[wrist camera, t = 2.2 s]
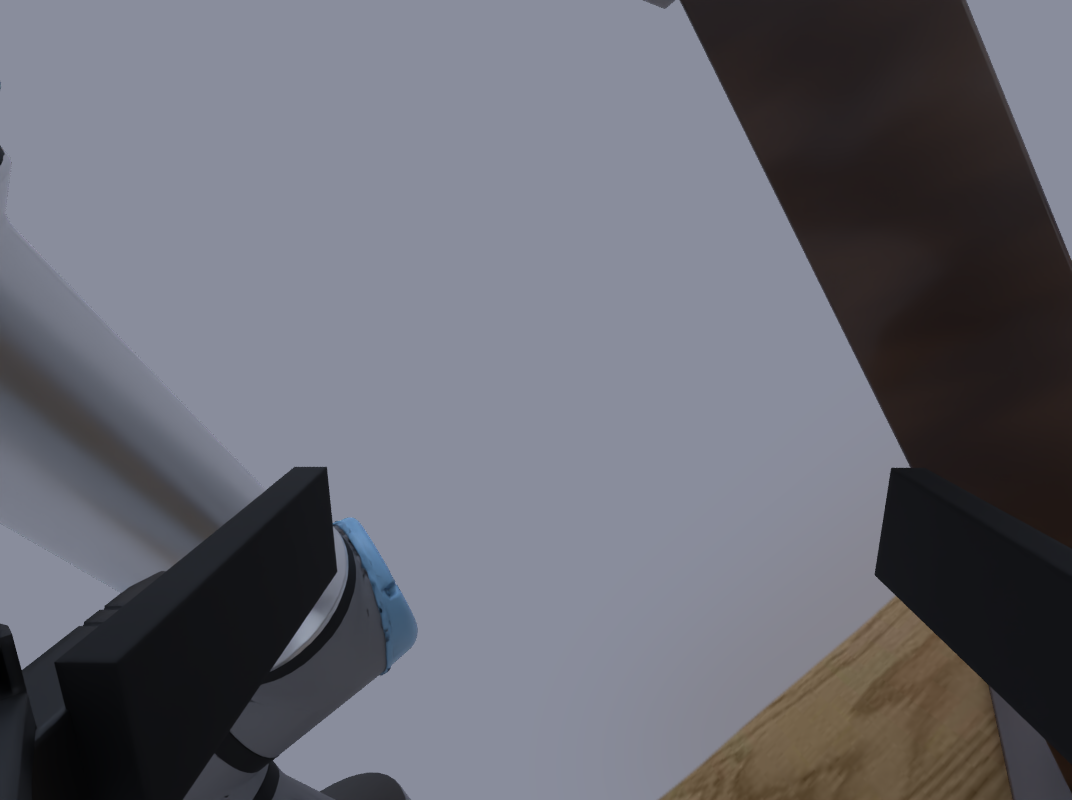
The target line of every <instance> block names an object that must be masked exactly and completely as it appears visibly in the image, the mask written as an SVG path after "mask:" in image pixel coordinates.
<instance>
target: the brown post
mask: <svg viewBox="0 0 1072 800" xmlns="http://www.w3.org/2000/svg"><path fill="white" fill-rule="evenodd" d="M644 1H646V2H649V3H651V4H654V5H656V6H659V7H661V8H664V9H665V8H667V7H668V6H669V5H670V4H671V3H673V2H674V1H675V0H644ZM680 2H681V4H682V6H683V8H684V10H685V12H686V14H687V16H688V18H689V20H690V22H691V24H692V26H693V28H694V30H695V32H696V34H697V36H698V38H699V40H700V42H701V44H702V46H703V48H704V50H705V52H706V55H707V57H708V58H709V61H710V62H711V65H712V67H713V68H714V70H715V73H716V75H717V77H718V79H719V81H720V82H721V85H722V87H723V89H724V91H725V93H726V95H727V97H728V99H729V101H730V103H731V105H732V107H733V109H734V111H735V113H736V115H737V117H738V119H739V121H740V123H741V125H742V127H743V129H744V131H745V133H746V135H747V137H748V140H749V142H750V144H751V146H752V148H753V150H754V152H755V154H756V155H757V158H758V160H759V162H760V164H761V166H762V168H763V170H764V172H765V174H766V176H767V178H768V180H769V182H770V184H771V186H772V188H773V190H774V192H775V194H776V196H777V198H778V200H779V202H780V204H781V206H782V208H783V210H784V212H785V214H786V216H787V218H788V220H789V223H790V225H791V227H792V229H793V231H794V232H795V235H796V237H797V239H798V241H799V243H800V245H801V247H802V249H803V251H804V253H805V255H806V257H807V259H808V261H809V263H810V265H811V267H812V269H813V271H814V273H815V275H816V277H817V279H818V281H819V283H820V285H821V287H822V289H823V291H824V293H825V295H826V297H827V299H828V301H829V304H830V306H831V307H832V310H833V312H834V313H835V316H836V318H837V320H838V322H839V324H840V326H841V328H842V330H843V332H844V333H845V336H846V338H847V340H848V342H849V344H850V346H851V348H852V350H853V352H854V354H855V356H856V358H857V360H858V362H859V364H860V366H861V368H862V370H863V372H864V374H865V376H866V378H867V380H868V382H869V384H870V386H871V388H872V390H873V392H874V394H875V397H876V399H877V401H878V403H879V405H880V407H881V409H882V411H883V413H884V415H885V417H886V419H887V421H888V423H889V425H890V427H891V429H892V431H893V433H894V435H895V437H896V439H897V441H898V443H899V445H900V447H901V449H902V451H903V453H904V455H905V457H906V459H907V461H908V463H909V465H910V467H911V468H926V469H928V470H930V471H931V472H933V473H935V474H937V475H939V476H941V477H942V478H944V479H946V480H948V481H950V482H951V483H953V484H955V485H957V486H959V487H960V488H962V489H964V490H966V491H968V492H970V493H971V494H973V495H975V496H977V497H979V498H980V499H982V500H984V501H986V502H988V503H990V504H991V505H993V506H995V507H997V508H999V509H1000V510H1002V511H1004V512H1006V513H1008V514H1010V515H1011V516H1013V517H1015V518H1017V519H1019V520H1020V521H1022V522H1024V523H1026V524H1028V525H1030V526H1031V527H1033V528H1035V529H1037V530H1039V531H1040V532H1042V533H1044V534H1046V535H1048V536H1049V537H1051V538H1053V539H1055V540H1057V541H1059V542H1060V543H1062V544H1064V545H1066V546H1068V547H1069V548H1071V549H1072V260H1071V258H1070V256H1069V253H1068V251H1067V248H1066V246H1065V244H1064V241H1063V238H1062V236H1061V233H1060V231H1059V229H1058V226H1057V224H1056V221H1055V219H1054V216H1053V214H1052V212H1051V209H1050V206H1049V204H1048V201H1047V199H1046V196H1045V194H1044V191H1043V189H1042V186H1041V184H1040V181H1039V179H1038V177H1037V174H1036V172H1035V169H1034V167H1033V165H1032V162H1031V160H1030V157H1029V154H1028V152H1027V149H1026V147H1025V145H1024V142H1023V140H1022V137H1021V135H1020V132H1019V130H1018V127H1017V125H1016V122H1015V120H1014V117H1013V115H1012V113H1011V110H1010V107H1009V105H1008V103H1007V101H1006V98H1005V95H1004V93H1003V90H1002V88H1001V85H1000V83H999V80H998V78H997V75H996V73H995V70H994V68H993V65H992V63H991V61H990V58H989V56H988V53H987V51H986V48H985V46H984V43H983V41H982V38H981V36H980V33H979V31H978V28H977V26H976V24H975V21H974V19H973V16H972V14H971V11H970V9H969V6H968V4H967V2H966V0H680ZM989 690H990V694H991V699H992V704H993V708H994V713H995V718H996V723H997V727H998V732H999V737H1000V741H1001V746H1002V751H1003V755H1004V760H1005V765H1006V770H1007V774H1008V779H1009V784H1010V788H1011V793H1012V798H1013V800H1072V765H1071V764H1070V763H1069V762H1068V761H1067V760H1066V759H1065V758H1064V757H1063V756H1062V755H1061V754H1060V753H1059V752H1058V751H1057V750H1056V749H1055V748H1054V747H1053V746H1051V745H1050V744H1049V743H1048V742H1047V741H1046V740H1045V739H1044V738H1043V737H1042V736H1041V735H1040V734H1039V733H1038V732H1037V731H1036V730H1035V729H1034V728H1033V727H1032V726H1031V725H1030V724H1029V723H1028V722H1027V721H1026V720H1025V719H1023V718H1022V717H1021V716H1020V715H1019V714H1018V713H1017V712H1016V711H1015V710H1014V709H1013V708H1012V707H1011V706H1010V705H1009V704H1008V703H1007V702H1006V701H1005V700H1004V699H1003V698H1002V697H1001V696H1000V695H999V694H998V693H997V692H995V691H994V690H993V689H992V688H991V687H990V686H989Z"/></svg>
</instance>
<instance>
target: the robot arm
mask: <svg viewBox="0 0 1072 800" xmlns="http://www.w3.org/2000/svg"><path fill="white" fill-rule="evenodd" d="M0 89H1V82H0ZM11 164H12V162H11V159H10V156H9V155H8V154H7V153H6V152H5V151H4V150H3V148H2V147H1V146H0V524H2V525H4V526H6V527H7V528H9V529H11V530H13V531H14V532H16V533H18V534H20V535H21V536H23V537H25V538H27V539H28V540H30V541H32V542H33V543H35V544H37V545H39V546H41V547H42V548H44V549H46V550H47V551H49V552H51V553H53V554H54V555H56V556H58V557H60V558H61V559H63V560H65V561H66V562H68V563H70V564H72V565H74V566H75V567H77V568H79V569H80V570H82V571H84V572H86V573H87V574H89V575H91V576H93V577H94V578H96V579H98V580H100V581H101V582H103V583H105V584H107V585H108V586H110V587H112V588H113V589H115V590H117V591H119V592H120V593H121V594H119V595H118V596H117V597H116V598H114V599H113V600H112V601H110V602H109V603H108V604H107V605H105V608H104V610H99V611H98V612H96V613H95V614H94V615H93V616H91V617H90V618H89V619H87V620H86V621H85V622H84V625H83V626H79V627H77V628H76V629H74V630H73V631H72V632H71V633H69V634H68V635H67V636H65V637H64V638H63V639H62V640H60V641H59V642H58V643H57V644H55V645H54V646H53V647H51V648H50V649H49V650H47V651H46V652H45V653H44V654H42V655H41V656H40V657H39V658H37V659H36V660H35V661H34V662H32V663H31V664H30V665H28V666H27V667H26V668H24V669H23V670H21V666H20V663H19V659H18V655H17V652H16V648H15V644H14V640H13V636H12V633H11V631H10V629H9V627H8V626H7V625H3V624H0V800H335V799H333V798H331V797H329V796H327V795H325V794H323V793H321V792H319V791H317V790H315V789H313V788H311V787H309V786H307V785H305V784H303V783H301V782H299V781H297V780H295V779H293V778H291V777H289V776H287V775H285V774H284V773H283V772H282V771H281V770H280V769H279V768H278V767H277V765H276V764H275V763H274V762H273V760H274V759H275V758H276V757H278V756H279V755H280V754H281V753H282V752H283V751H285V749H287V748H288V747H289V746H291V745H292V744H293V743H295V742H296V741H297V740H298V739H300V738H301V737H302V736H303V735H305V734H306V733H307V732H308V731H310V730H311V729H312V728H313V727H315V726H316V725H317V724H318V723H320V722H321V721H322V720H323V719H325V718H326V717H327V716H328V715H330V714H331V713H332V712H333V711H335V710H336V709H337V708H338V707H340V706H341V705H342V704H343V703H345V702H346V701H347V700H348V699H350V698H351V697H352V696H353V695H355V694H356V693H357V692H358V691H360V690H361V689H362V688H364V687H365V686H366V685H367V684H369V683H370V682H371V681H372V680H374V679H375V678H376V677H377V676H379V675H383V674H385V673H387V672H388V671H389V670H390V668H391V665H392V664H393V663H394V662H396V661H397V660H398V659H399V658H400V657H401V656H402V655H403V654H405V653H406V652H407V651H408V650H409V649H410V648H411V647H412V646H413V644H414V643H415V641H416V638H417V632H418V629H417V624H416V621H415V618H414V616H413V614H412V612H411V610H410V608H409V606H408V604H407V602H406V600H405V598H404V596H403V595H402V593H401V591H400V589H399V588H398V586H397V585H396V584H395V580H394V579H393V577H392V575H391V573H390V571H389V569H388V567H387V566H386V564H385V562H384V560H383V559H382V557H381V555H380V554H379V552H378V550H377V549H376V547H375V545H374V544H373V542H372V541H371V539H370V537H369V536H368V534H367V533H366V531H365V529H364V528H363V527H362V525H361V524H360V523H359V521H357V520H356V519H355V518H345V519H343V520H341V521H335V523H332V515H331V514H332V513H331V504H330V495H329V485H328V475H327V467H294V468H293V469H291V470H290V471H289V472H288V473H287V474H285V475H284V476H283V477H282V478H281V479H279V480H278V481H277V482H275V483H274V484H273V485H272V486H271V487H269V488H268V489H267V490H266V489H265V488H264V487H263V486H262V485H261V484H260V483H259V482H258V481H257V480H256V479H255V478H254V477H253V476H252V475H251V474H250V473H249V472H248V471H247V469H246V468H245V467H244V466H242V464H241V463H240V462H239V461H238V460H237V459H236V458H235V457H234V456H233V455H232V454H231V453H230V452H229V451H228V450H227V449H226V448H225V447H224V445H223V444H222V443H221V442H220V441H219V440H218V439H217V438H216V437H215V436H214V435H213V434H212V433H211V432H210V431H209V430H208V429H207V428H206V427H205V426H204V425H203V424H202V423H201V421H200V420H199V419H197V418H196V416H195V415H194V414H193V413H192V412H191V411H190V410H189V409H188V408H187V407H186V406H185V405H184V404H183V403H182V402H181V401H180V400H179V399H178V398H177V397H176V396H175V394H174V393H173V392H172V391H171V390H170V389H169V388H168V387H167V386H166V385H165V384H164V383H163V382H162V381H161V380H160V379H159V378H158V377H157V376H156V375H155V374H154V372H153V371H151V369H150V368H149V367H148V366H147V365H146V364H145V363H144V362H143V361H142V360H141V359H140V358H139V357H138V356H137V355H136V354H135V353H134V352H133V351H132V349H131V348H130V347H129V346H128V345H127V344H126V343H125V342H124V341H123V340H122V339H121V338H120V337H119V336H118V335H117V334H116V333H115V332H114V331H113V330H112V329H111V328H110V327H109V326H108V324H107V323H105V322H104V320H103V319H102V318H101V317H100V316H99V315H98V314H97V313H96V312H95V311H94V310H93V309H92V308H91V307H90V306H89V305H88V304H87V303H86V302H85V300H84V299H83V298H82V297H81V296H80V295H79V294H78V293H77V292H76V291H75V290H74V289H73V288H72V287H71V286H70V285H69V284H68V283H67V282H66V281H65V280H64V279H63V278H62V276H61V275H60V274H59V273H58V272H57V271H56V270H55V269H54V268H53V267H52V266H51V265H50V264H49V263H48V262H47V261H46V260H45V259H44V258H43V257H42V256H41V255H40V254H39V252H38V251H36V249H35V248H34V247H33V246H32V245H31V244H30V243H29V242H28V241H27V240H26V239H25V238H24V237H23V236H22V235H21V234H20V233H19V232H18V231H17V230H16V229H15V228H14V226H13V225H12V224H11V223H10V221H9V219H8V217H7V216H6V214H5V209H6V202H7V194H8V186H9V179H10V172H11ZM875 576H876V577H877V578H878V579H879V580H880V581H881V582H882V583H883V584H884V585H886V586H887V587H888V588H889V589H890V590H891V591H892V592H893V593H894V594H895V595H896V596H897V597H898V598H899V599H900V600H901V601H902V602H903V603H904V604H905V605H906V606H907V607H908V608H909V609H910V610H911V611H912V612H914V613H915V614H916V615H917V616H918V617H919V618H920V619H921V620H922V621H923V622H924V623H925V624H926V625H927V626H928V627H929V628H930V629H931V630H932V631H933V632H934V633H935V634H936V635H937V636H938V637H939V638H940V639H942V640H943V641H944V642H945V643H946V644H947V645H948V646H949V647H950V648H951V649H952V650H953V651H954V652H955V653H956V654H957V655H958V656H959V657H960V658H961V659H962V660H963V661H964V662H965V663H966V664H967V665H969V666H970V667H971V668H972V669H973V670H974V671H975V672H976V673H977V674H978V675H979V676H980V677H981V678H982V679H983V680H984V681H985V682H986V683H987V684H988V685H989V686H990V687H991V688H992V689H993V690H994V691H995V692H997V693H998V694H999V695H1000V696H1001V697H1002V698H1003V699H1004V700H1005V701H1006V702H1007V703H1008V704H1009V705H1010V706H1011V707H1012V708H1013V709H1014V710H1015V711H1016V712H1017V713H1018V714H1019V715H1020V716H1021V717H1022V718H1023V719H1025V720H1026V721H1027V722H1028V723H1029V724H1030V725H1031V726H1032V727H1033V728H1034V729H1035V730H1036V731H1037V732H1038V733H1039V734H1040V735H1041V736H1042V737H1043V738H1044V739H1045V740H1046V741H1047V742H1048V743H1049V744H1050V745H1051V746H1053V747H1054V748H1055V749H1056V750H1057V751H1058V752H1059V753H1060V754H1061V755H1062V756H1063V757H1064V758H1065V759H1066V760H1067V761H1068V762H1069V763H1070V764H1071V765H1072V549H1071V548H1069V547H1068V546H1066V545H1064V544H1062V543H1060V542H1059V541H1057V540H1055V539H1053V538H1051V537H1049V536H1048V535H1046V534H1044V533H1042V532H1040V531H1039V530H1037V529H1035V528H1033V527H1031V526H1030V525H1028V524H1026V523H1024V522H1022V521H1020V520H1019V519H1017V518H1015V517H1013V516H1011V515H1010V514H1008V513H1006V512H1004V511H1002V510H1000V509H999V508H997V507H995V506H993V505H991V504H990V503H988V502H986V501H984V500H982V499H980V498H979V497H977V496H975V495H973V494H971V493H970V492H968V491H966V490H964V489H962V488H960V487H959V486H957V485H955V484H953V483H951V482H950V481H948V480H946V479H944V478H942V477H941V476H939V475H937V474H935V473H933V472H931V471H930V470H928V469H926V468H891V473H890V479H889V486H888V493H887V498H886V505H885V512H884V518H883V524H882V531H881V537H880V544H879V550H878V556H877V563H876V569H875Z"/></svg>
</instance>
